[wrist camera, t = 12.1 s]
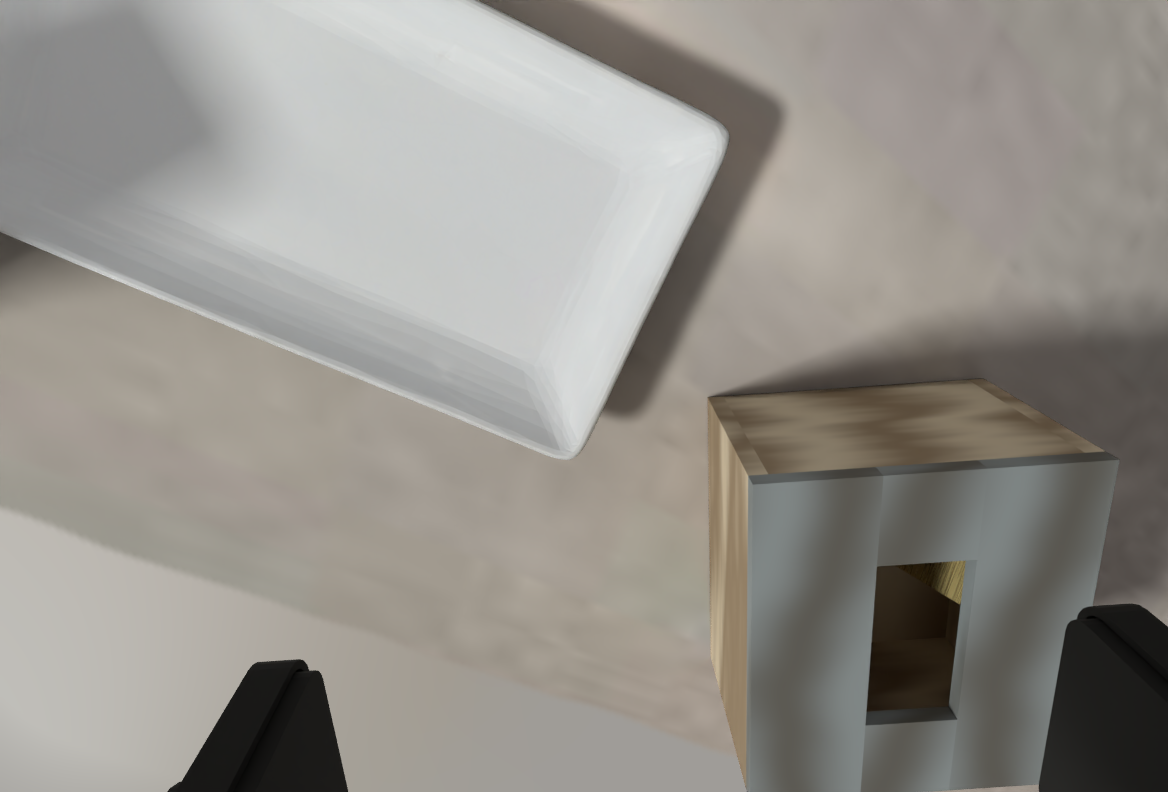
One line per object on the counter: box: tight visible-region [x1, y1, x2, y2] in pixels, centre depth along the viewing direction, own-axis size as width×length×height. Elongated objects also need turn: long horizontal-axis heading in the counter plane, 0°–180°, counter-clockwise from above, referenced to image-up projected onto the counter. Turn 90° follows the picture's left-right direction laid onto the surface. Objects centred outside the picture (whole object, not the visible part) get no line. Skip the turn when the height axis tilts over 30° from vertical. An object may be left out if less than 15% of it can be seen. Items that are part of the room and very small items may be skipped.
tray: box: [0, 0, 729, 460], centre depth 33 cm, size 17×31×4 cm, turn 65°
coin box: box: [708, 379, 1120, 792], centre depth 36 cm, size 14×16×10 cm
